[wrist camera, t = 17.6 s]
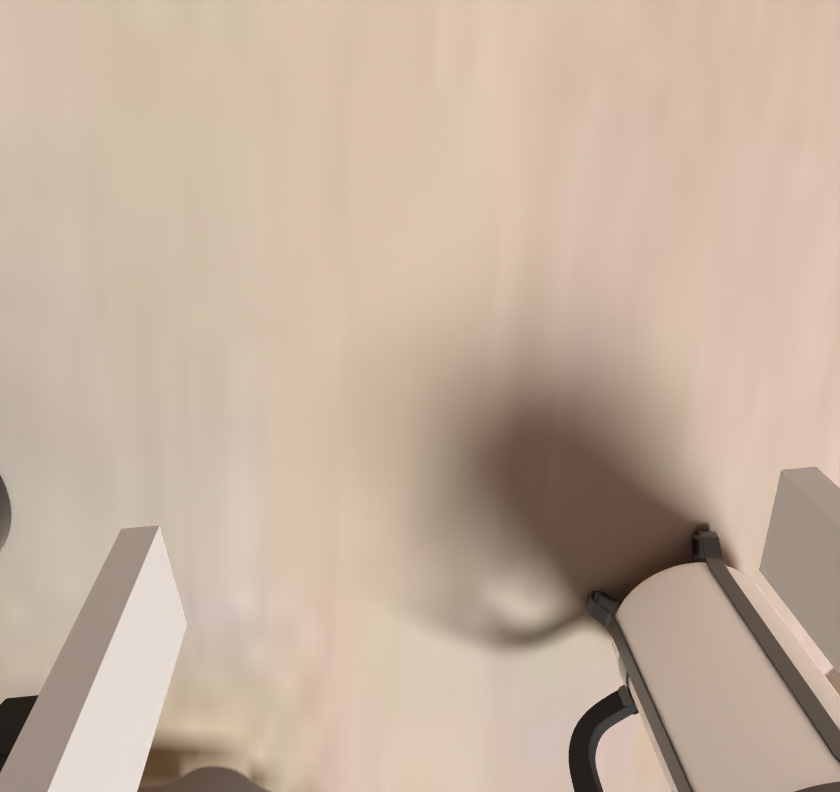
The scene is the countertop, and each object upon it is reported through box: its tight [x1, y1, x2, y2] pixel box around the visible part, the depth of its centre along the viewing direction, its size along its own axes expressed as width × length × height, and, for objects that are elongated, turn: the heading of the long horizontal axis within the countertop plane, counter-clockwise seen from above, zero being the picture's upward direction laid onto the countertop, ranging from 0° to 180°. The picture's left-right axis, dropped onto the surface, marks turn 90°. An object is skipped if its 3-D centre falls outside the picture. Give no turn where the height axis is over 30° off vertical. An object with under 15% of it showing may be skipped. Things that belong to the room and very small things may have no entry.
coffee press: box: [569, 531, 840, 792], centre depth 42 cm, size 17×16×30 cm
